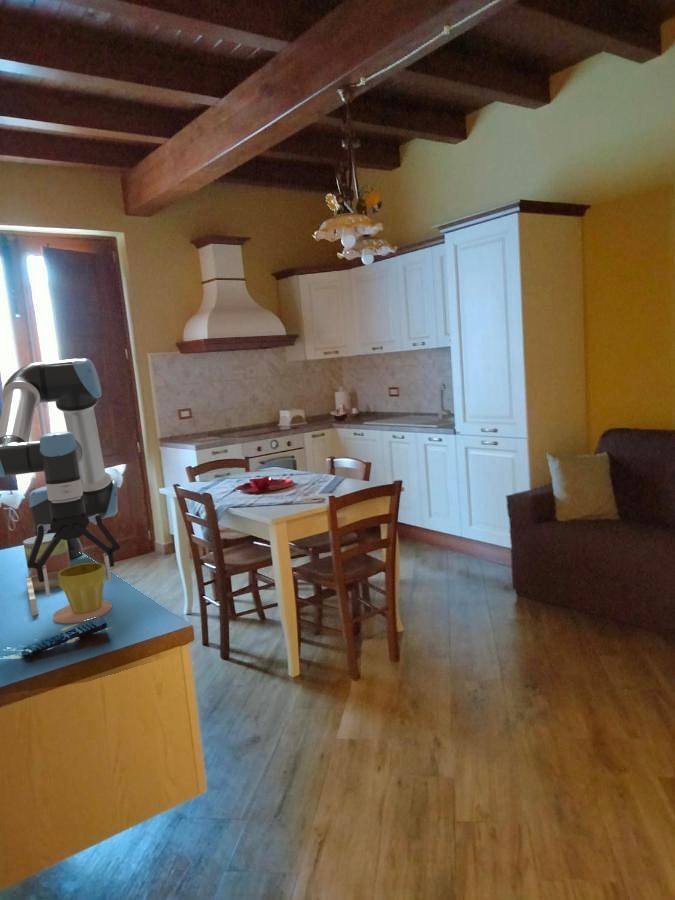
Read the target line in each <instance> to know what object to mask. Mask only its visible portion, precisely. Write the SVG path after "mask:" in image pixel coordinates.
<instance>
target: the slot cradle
mask: <svg viewBox="0 0 675 900" xmlns="http://www.w3.org/2000/svg"><path fill="white" fill-rule="evenodd" d="M60 571H61V570H59V571H54V572H50V573H47V577H48V583H49V589H54V588H56V587H60V585H59V580H58V573H59V572H60ZM25 578H26V579H25V580H26V586H27V592H28V597H29V603H30V608H31V609H30V610H31V615H32V617H33V616H38V614H39V613H38V607H37V601H36V594H35V592H40V591H44V590H46V589H45V583H44V582H39V580H38V575H35V576H31V577H29V576H26V577H25Z"/></svg>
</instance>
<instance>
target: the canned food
mask: <svg viewBox="0 0 675 900" xmlns="http://www.w3.org/2000/svg"><path fill="white" fill-rule="evenodd" d="M54 535H55V533H49V534H44V537H43V540H42V543H41V546H40V549H39V551H38V554H37V557H36V560H35V562H37V561H38V560H39V558H40V557H41V555H42V554H43V552H44V551H45V549H46V548H47V546H48V545H49V543H50V542H51V540H52V538H53V537H54ZM36 537H37V536H35V535H34V536H32V537H29V538H26V539H24V540H23V541H22V544H23V549H24V555H25V560H26V561H25V562H26V563H27V561H28V559H29V556H30V553H31V550H32V548H33V545H34V542H35V539H36ZM43 566H46V570H47V573H50V572H54V571H59V570H63V569H65V568H68V567H71V566H72V564H71V559H70V558H69V551H68V545H67V540H63V539H61V540H60V542H59V543H58V544H57V546H56V547H55V549H54V550H53V552H52V553H51V555H50V556H49V558H48V559H47V561H46V562H45V564H44V565H43ZM26 567H27V573H28V577H31V576H35V575H38V574H37V569H35V568H28V566H27V565H26Z"/></svg>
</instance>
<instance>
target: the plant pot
mask: <svg viewBox="0 0 675 900" xmlns="http://www.w3.org/2000/svg"><path fill="white" fill-rule="evenodd" d="M58 580H59V585H60V586H59V588H60V589H62V590H63V591H64V592H63V593H64V594H65V596H66V599H67V601H68V604H69V605H70V606H71V609H72V611H73V613H77V614H81V613H88V612H92V611H95V610H97V609H99V608H100V607H101V606H102V600H103V596H104V581H105V580H107V576H106V569H105V563H103V562H102V563H101V562H94V561H93V562H92V561H91V562H82V563H79V564H75V565H74V564H73V565H71V567H68V568H65V569H63V570H61V571H60V572H59V573H58Z"/></svg>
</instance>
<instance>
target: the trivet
mask: <svg viewBox="0 0 675 900" xmlns="http://www.w3.org/2000/svg"><path fill="white" fill-rule="evenodd" d="M112 609H113V604H112V602H111V601H110V600H107V599H102V606H101V607H100V608H99V609H97V610H95V611H92V612H88V613H81V614H77V613H73V611H72V609H71V606H70V604H69V605H66V606H64V607H61V608H59V609H58V610H56V611H55V612H54V613H53V614H52V618H53V619H52V620H53V621H54V623H57V624H60V625H61V624H62V625H73V624H79V622H80V623H83V622H82V621H84V620H87V619H91V618H94V617H98V618H100V617H102V616H104V615H106V614H108V613H110V612H111V610H112Z"/></svg>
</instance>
